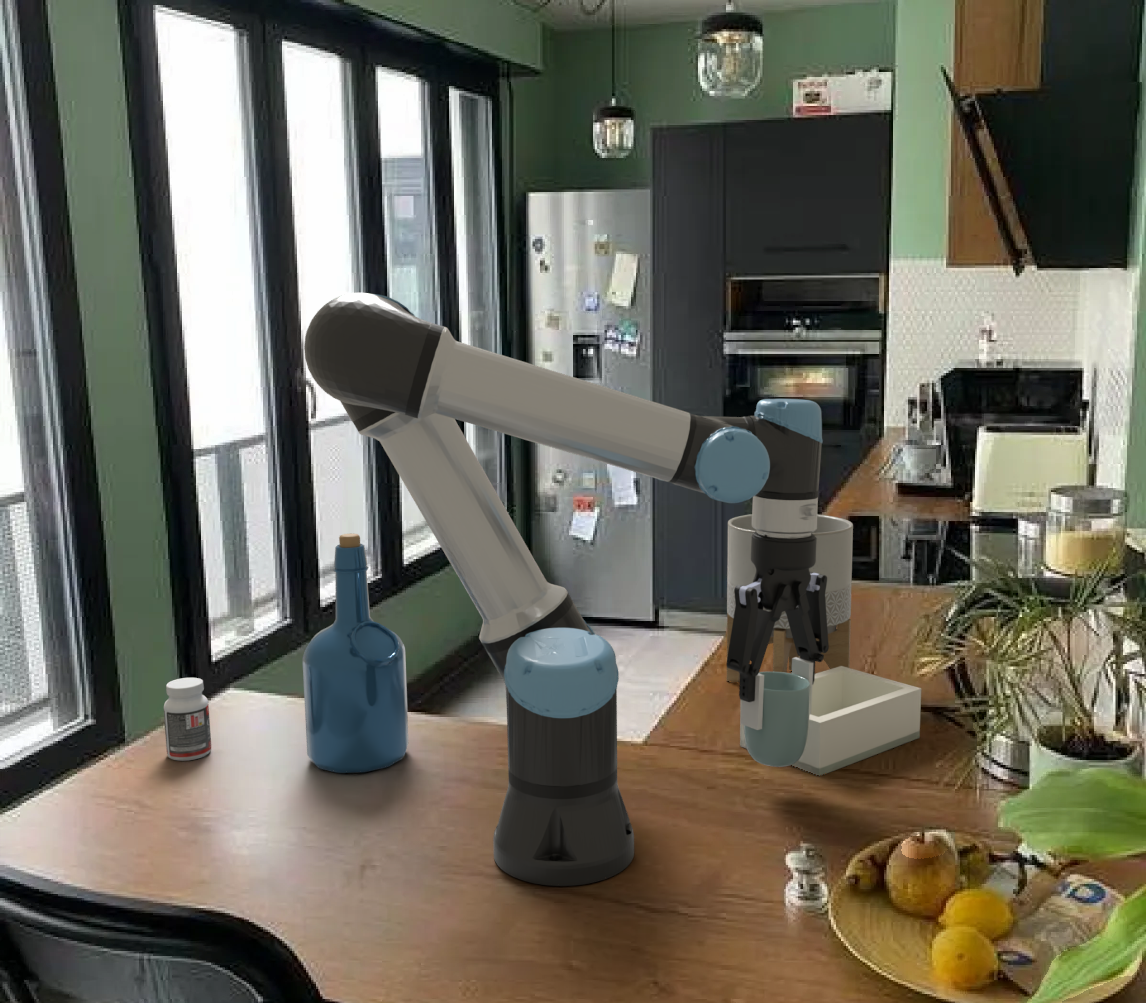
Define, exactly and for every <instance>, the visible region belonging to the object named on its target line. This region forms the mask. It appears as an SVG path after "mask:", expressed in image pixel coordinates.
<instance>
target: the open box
mask: <svg viewBox="0 0 1146 1003" xmlns="http://www.w3.org/2000/svg"><path fill="white" fill-rule="evenodd" d="M814 676H815V678H814V683H813V685H812V704H811V714H810V718H809V729H808V737H807V742H806V746H805V749H804V752H803V754H802V756H801V758H800V759H799V760H798V761H797V762H796V763H794V764H792V766H791V767H793V766H795V767H794V768H796V767H798V768H800V769H799V770H801V769H803V770H802V771H804V770H805V771H804V772H806V771H808V772H807V773H809V772H811V773H813V774H812V775H814V774H816V775H815V776H817V775H819V776H818V777H821V776H823V774H824V775H826V774H829V773H831V772H834V771H836V770H840V769H841V768H844V767H846V766H849V765H852V764H854V763H858V762H860V761H862V760H865V759H868V758H870V757H873V756H876V755H877V754H881V753H883V752H887V751H888V750H892V749H893V748H894V749H895V748H896V747H899V746H901V745H904V744H906V743H910V742H911V741H915V740H917V739H920V735H921V734H920V732H921V729H920V728H921V704H922V702H921V701H922V688H921V687H917V686H914V685H910V684H907V683H903V682H900V681H896V680H893V679H889V678H886V677H882V676H880V675H875V674H871V673H868V672H865V671H861V670H858V669H855V668H850V667H849V668H847V667H844V666H839V667H836V668H833V669H830V668H829V669H827V670H824V671H819V672H817V673H816V672H815V675H814ZM739 710H740V715H739V716H740V717H739V718H740V720H739V721H740V723H739V724H740V726H739V740H740V741H739V747H741V748H744V749H746V750H747V747H746V743H745V735H744V725H743V724H741V703H740V707H739ZM798 768H797V769H798ZM811 773H810V774H811ZM825 773H826V774H825ZM820 775H821V776H820Z"/></svg>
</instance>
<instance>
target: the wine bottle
mask: <svg viewBox="0 0 1146 1003" xmlns="http://www.w3.org/2000/svg"><path fill="white" fill-rule="evenodd" d="M338 539H339V540H338V541H339V542H338V543H339V544H337V545H336V546H335V549H334V559H333V561H334V563H333V567H334V568H333V569H332V570H333V572H334V573H335V575H334V576H335V577H334V578H335V581H334V582H335V620H334V622H333V623H332V624H331V625H329V626H327V627H326V628H325V627H324V628H323V629H321V630H320V631H319V632H317V633H316V634H315V635H314V636H313V637H312V638H311V640H310V641H309V643H308V644H307V646H306V647H305V650H304V652H303V655H302V671H303V672H302V674H303V679H302V680H303V698H304V717H305V735H306V736H305V737H306V754H307V757H308V759H309V760H310V762H312V764H313V765H314V766H316V767H317V768H318V769H320V770H324V771H329V772H334V773H338V774H346V773H347V774H348V773H349V774H351V773H352V774H354V773H356V774H357V773H367V772H372V771H376V770H380V769H381V770H382V769H385V768H389V767H390V766H392V765H394V764H396V763H397V762H399V761H401V760H403V759H404V757H405V755H406V753H407V749H408V746H409V722H408V721H409V720H408V691H407V690H408V689H407V665H406V664H407V663H406V646H405V644H404V642H403V641H402V638H401V637H400V636H399V635H398V634H397V633H396V632H394V631H393V630H391V629H390V628H388V627H387V626H385V625H383V624H381V623H379V622H377V621H374V619H373V618H372V617H371V610H370V600H369V598H370V597H369V585H368V573H367V571H368V569H369V566H368V560H367V554H366V547H365V544H363V543H361V537H360V535H359V533H343V534H341V535H339V537H338Z"/></svg>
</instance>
